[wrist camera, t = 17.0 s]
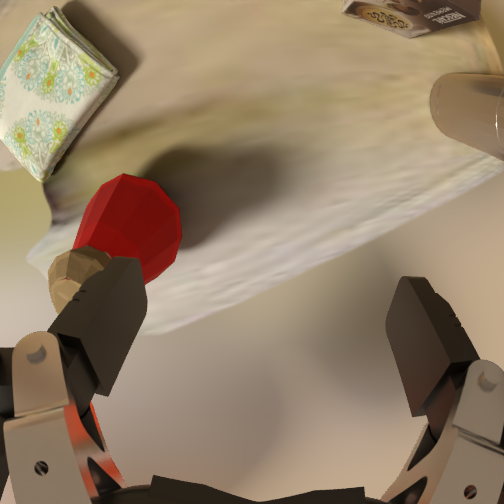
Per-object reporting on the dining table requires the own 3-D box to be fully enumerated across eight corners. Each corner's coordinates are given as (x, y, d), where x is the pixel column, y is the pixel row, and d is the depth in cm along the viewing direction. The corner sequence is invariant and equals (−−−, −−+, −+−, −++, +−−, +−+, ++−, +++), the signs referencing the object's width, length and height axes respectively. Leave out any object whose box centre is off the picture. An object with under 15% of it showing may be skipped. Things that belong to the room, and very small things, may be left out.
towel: (131, 72, 32) (112, 72, 28) (50, 179, 40) (30, 191, 35) (62, 4, 26) (41, 0, 22) (-5, 110, 34) (-25, 116, 29)
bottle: (130, 142, 36) (29, 195, 19) (214, 196, 40) (168, 288, 22) (91, 230, 43) (14, 311, 26) (162, 276, 47) (112, 378, 29)
